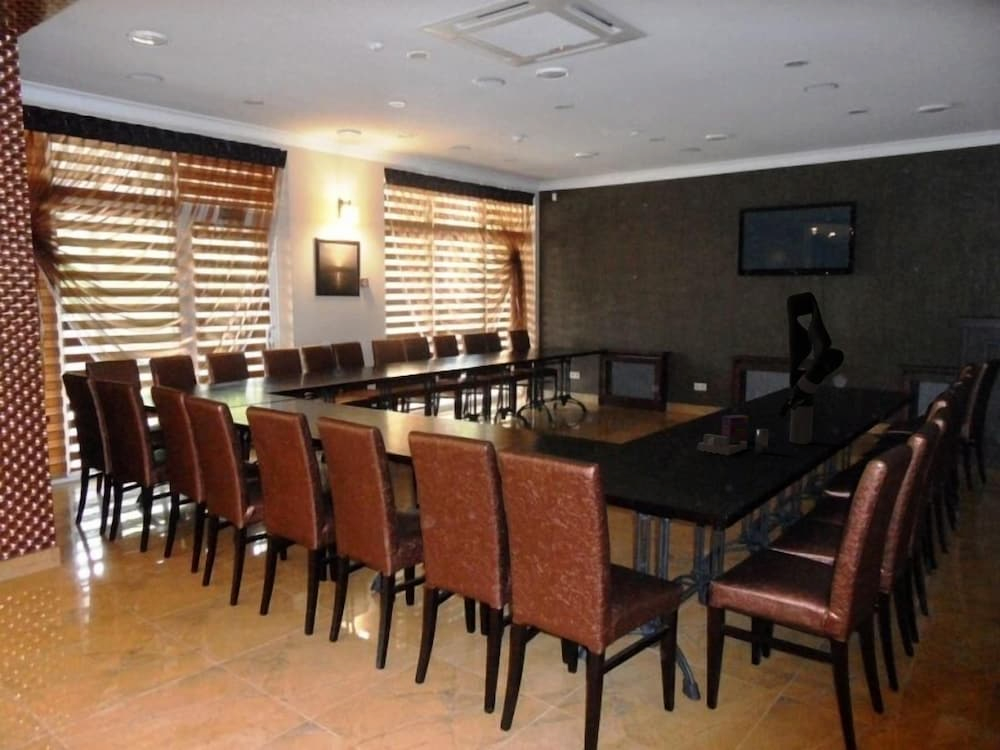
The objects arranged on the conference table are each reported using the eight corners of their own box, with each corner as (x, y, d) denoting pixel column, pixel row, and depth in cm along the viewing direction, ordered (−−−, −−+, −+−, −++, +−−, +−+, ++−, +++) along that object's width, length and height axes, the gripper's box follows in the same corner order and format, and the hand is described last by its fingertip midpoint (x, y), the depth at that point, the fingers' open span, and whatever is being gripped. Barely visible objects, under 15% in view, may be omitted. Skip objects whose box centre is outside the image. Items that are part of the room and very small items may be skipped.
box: (729, 443, 324) (730, 417, 322) (720, 441, 329) (722, 415, 328) (747, 442, 328) (749, 416, 326) (739, 439, 333) (740, 414, 331)
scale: (716, 443, 323) (716, 428, 322) (746, 448, 314) (747, 432, 313) (697, 450, 309) (698, 434, 308) (729, 455, 300) (729, 439, 299)
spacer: (757, 451, 309) (758, 428, 308) (769, 452, 306) (770, 429, 304) (753, 453, 305) (754, 429, 304) (764, 454, 302) (766, 431, 301)
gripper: (808, 374, 294) (788, 400, 306) (790, 385, 286) (770, 412, 298) (823, 386, 291) (802, 412, 302) (805, 398, 283) (784, 424, 294)
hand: (786, 412), depth 300 cm, fingers open, 8 cm apart
